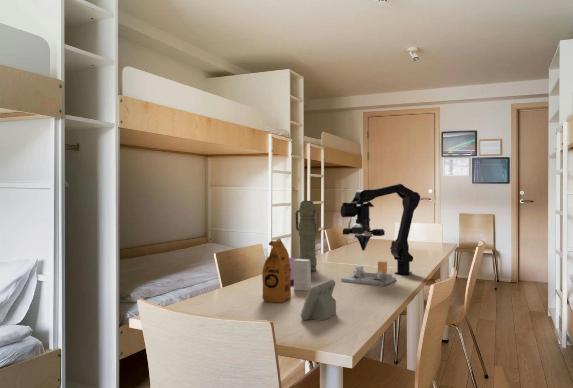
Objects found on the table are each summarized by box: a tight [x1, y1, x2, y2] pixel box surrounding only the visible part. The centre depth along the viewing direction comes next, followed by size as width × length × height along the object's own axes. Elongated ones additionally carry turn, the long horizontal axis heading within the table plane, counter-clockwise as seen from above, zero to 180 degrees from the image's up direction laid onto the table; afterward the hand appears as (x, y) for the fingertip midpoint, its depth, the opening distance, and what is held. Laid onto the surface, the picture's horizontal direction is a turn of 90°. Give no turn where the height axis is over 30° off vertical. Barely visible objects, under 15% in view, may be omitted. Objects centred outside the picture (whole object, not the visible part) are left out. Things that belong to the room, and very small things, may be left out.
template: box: [340, 265, 397, 287], centre depth 197 cm, size 14×20×5 cm
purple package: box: [289, 257, 303, 285], centre depth 198 cm, size 9×8×18 cm
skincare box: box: [293, 259, 312, 292], centre depth 182 cm, size 6×4×12 cm
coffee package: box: [261, 238, 292, 304], centre depth 166 cm, size 10×12×22 cm
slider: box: [376, 260, 388, 279], centre depth 197 cm, size 7×3×7 cm, turn 148°
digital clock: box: [300, 278, 337, 321], centre depth 143 cm, size 16×9×11 cm, turn 138°
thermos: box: [294, 200, 320, 272], centre depth 226 cm, size 9×12×35 cm
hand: (363, 250), depth 208 cm, fingers closed
